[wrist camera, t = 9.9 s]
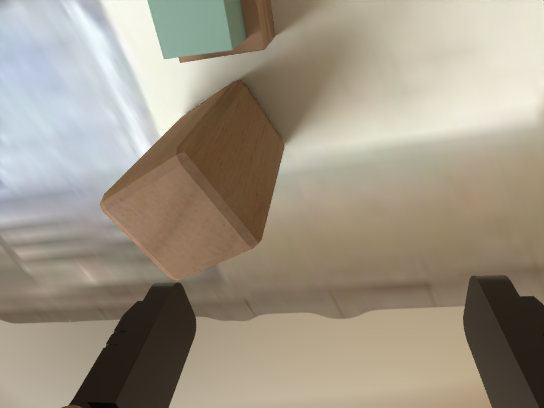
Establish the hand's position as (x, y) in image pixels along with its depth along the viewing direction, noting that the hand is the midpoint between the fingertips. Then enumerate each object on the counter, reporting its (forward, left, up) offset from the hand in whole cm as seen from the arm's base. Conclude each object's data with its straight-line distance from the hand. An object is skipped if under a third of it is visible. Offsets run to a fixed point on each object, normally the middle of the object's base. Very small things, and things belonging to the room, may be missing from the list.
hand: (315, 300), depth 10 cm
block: (+12, +7, -34) cm, 37 cm away
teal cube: (+9, -7, -26) cm, 28 cm away
